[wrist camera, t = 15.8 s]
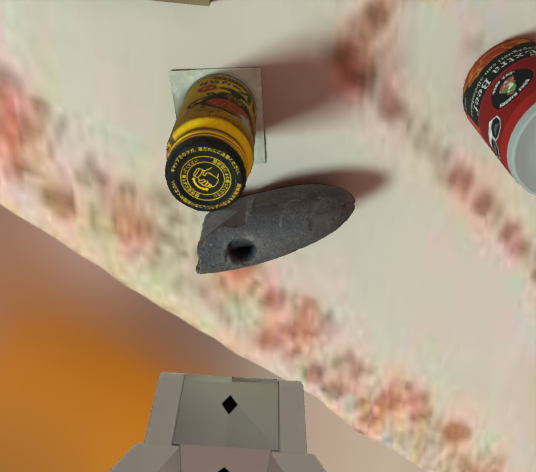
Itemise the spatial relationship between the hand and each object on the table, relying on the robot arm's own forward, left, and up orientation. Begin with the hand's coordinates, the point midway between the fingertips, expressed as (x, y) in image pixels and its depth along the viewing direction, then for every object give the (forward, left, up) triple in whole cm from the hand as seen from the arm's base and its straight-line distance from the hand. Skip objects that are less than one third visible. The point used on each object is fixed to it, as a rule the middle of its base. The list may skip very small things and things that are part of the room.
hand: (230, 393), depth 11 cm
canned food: (+3, +20, -33) cm, 39 cm away
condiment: (+8, -3, -33) cm, 34 cm away
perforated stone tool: (+16, +2, -33) cm, 37 cm away
